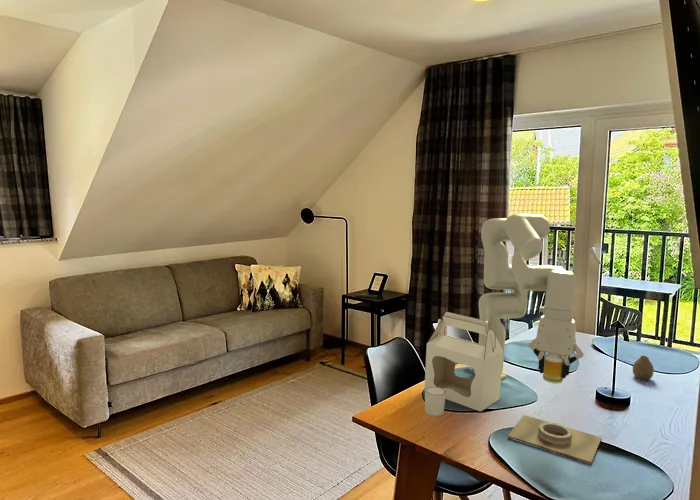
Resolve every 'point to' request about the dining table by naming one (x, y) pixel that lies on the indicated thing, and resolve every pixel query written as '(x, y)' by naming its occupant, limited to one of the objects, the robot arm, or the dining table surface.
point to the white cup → (435, 400)
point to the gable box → (464, 362)
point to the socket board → (569, 450)
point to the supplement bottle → (553, 368)
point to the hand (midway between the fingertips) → (553, 373)
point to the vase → (643, 368)
